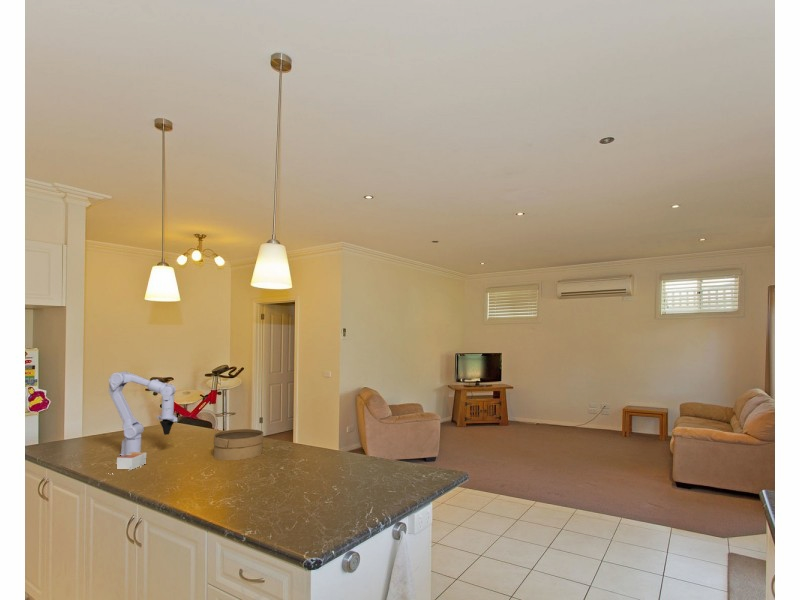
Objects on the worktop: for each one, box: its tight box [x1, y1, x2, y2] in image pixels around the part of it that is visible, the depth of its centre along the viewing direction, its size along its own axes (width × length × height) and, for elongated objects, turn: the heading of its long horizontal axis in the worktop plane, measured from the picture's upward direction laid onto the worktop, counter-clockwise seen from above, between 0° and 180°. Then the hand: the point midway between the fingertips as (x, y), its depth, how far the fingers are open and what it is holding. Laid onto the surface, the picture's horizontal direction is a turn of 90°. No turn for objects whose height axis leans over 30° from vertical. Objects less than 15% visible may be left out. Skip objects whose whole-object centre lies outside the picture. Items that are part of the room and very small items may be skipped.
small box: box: [116, 452, 147, 471], centre depth 224 cm, size 8×6×10 cm
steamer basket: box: [213, 428, 264, 461], centre depth 248 cm, size 25×25×11 cm
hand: (166, 434), depth 248 cm, fingers closed
